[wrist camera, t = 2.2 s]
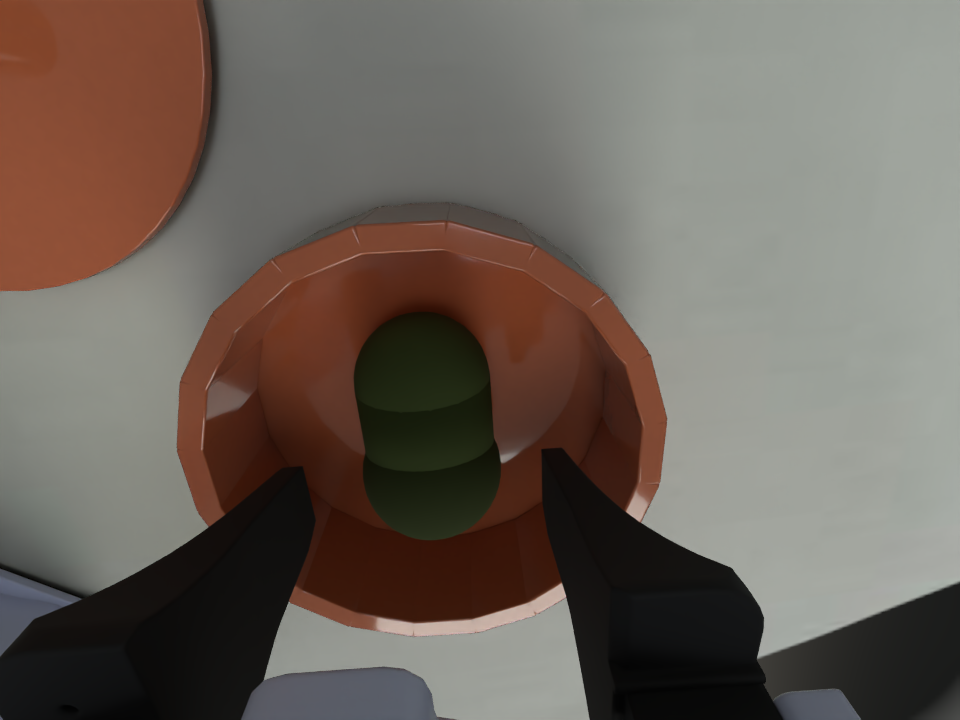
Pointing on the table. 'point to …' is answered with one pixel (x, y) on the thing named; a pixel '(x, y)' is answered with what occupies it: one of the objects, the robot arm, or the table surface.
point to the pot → (336, 425)
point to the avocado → (426, 425)
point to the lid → (95, 130)
